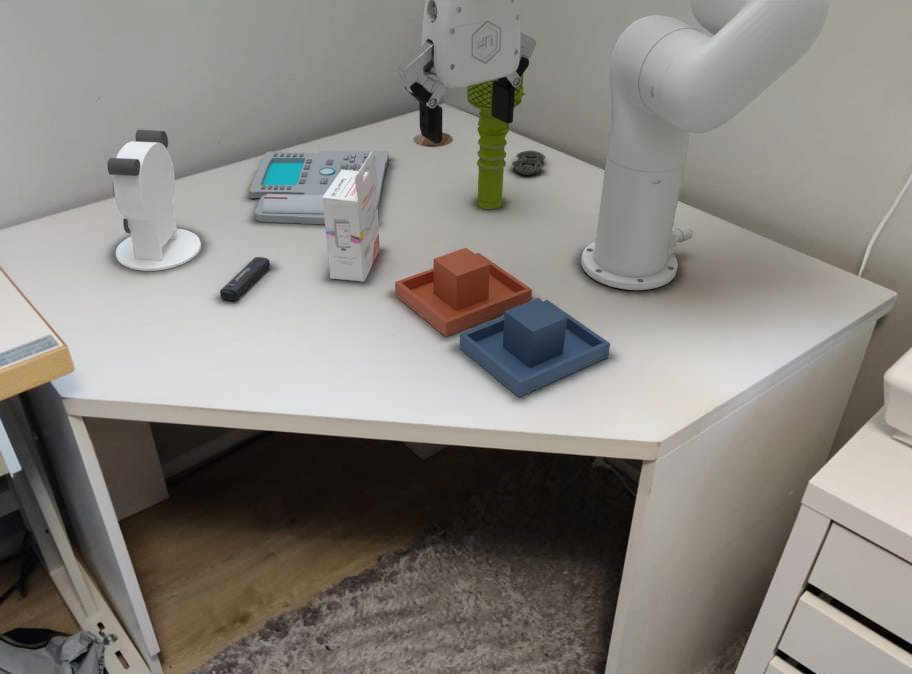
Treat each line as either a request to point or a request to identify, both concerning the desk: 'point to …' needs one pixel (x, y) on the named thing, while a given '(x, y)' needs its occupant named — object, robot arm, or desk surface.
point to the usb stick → (244, 278)
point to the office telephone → (305, 182)
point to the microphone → (490, 143)
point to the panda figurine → (149, 205)
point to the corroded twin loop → (529, 162)
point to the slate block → (534, 332)
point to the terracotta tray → (448, 321)
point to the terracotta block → (461, 278)
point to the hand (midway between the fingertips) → (467, 129)
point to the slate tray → (522, 380)
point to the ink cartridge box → (352, 222)
